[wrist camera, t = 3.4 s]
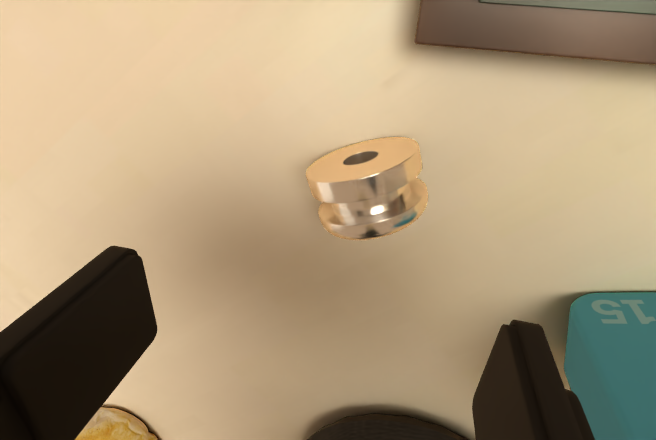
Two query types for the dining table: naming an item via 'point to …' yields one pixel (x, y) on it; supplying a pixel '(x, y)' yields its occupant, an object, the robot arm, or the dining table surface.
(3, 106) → the dining table surface
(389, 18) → the dining table surface
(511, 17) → the desk pad
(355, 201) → the metal grooved wheel
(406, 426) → the candelabra
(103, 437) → the bread roll
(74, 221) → the dining table surface
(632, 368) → the data package
